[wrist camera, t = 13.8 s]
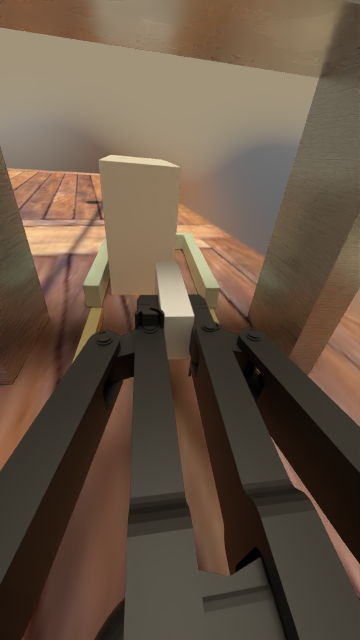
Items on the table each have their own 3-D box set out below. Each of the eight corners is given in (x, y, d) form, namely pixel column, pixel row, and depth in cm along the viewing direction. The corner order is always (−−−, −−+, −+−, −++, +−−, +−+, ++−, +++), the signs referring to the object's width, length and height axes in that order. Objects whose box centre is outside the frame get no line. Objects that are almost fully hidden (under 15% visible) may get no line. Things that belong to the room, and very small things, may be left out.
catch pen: (215, 307, 27) (219, 288, 25) (86, 306, 25) (82, 285, 23) (189, 247, 43) (190, 233, 42) (110, 243, 41) (109, 228, 40)
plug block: (172, 294, 29) (181, 167, 21) (111, 295, 27) (98, 159, 20) (160, 251, 40) (163, 159, 33) (117, 250, 39) (110, 155, 32)
